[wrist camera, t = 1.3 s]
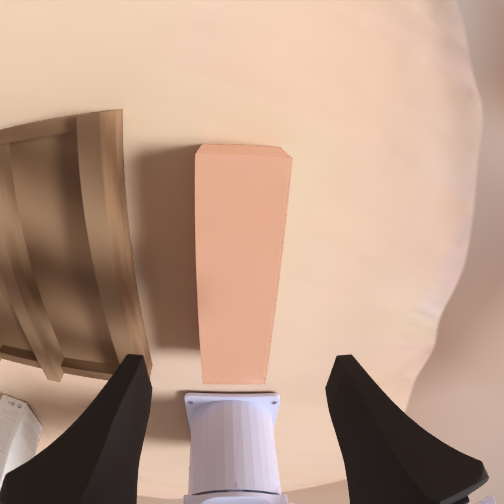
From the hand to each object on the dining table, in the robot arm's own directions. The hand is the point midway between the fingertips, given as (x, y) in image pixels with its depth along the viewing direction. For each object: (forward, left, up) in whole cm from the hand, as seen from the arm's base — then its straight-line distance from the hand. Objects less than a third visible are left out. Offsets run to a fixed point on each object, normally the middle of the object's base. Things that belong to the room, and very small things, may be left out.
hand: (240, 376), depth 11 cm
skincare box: (-22, +26, -8) cm, 35 cm away
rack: (0, +14, -8) cm, 16 cm away
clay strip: (0, 0, -9) cm, 9 cm away
